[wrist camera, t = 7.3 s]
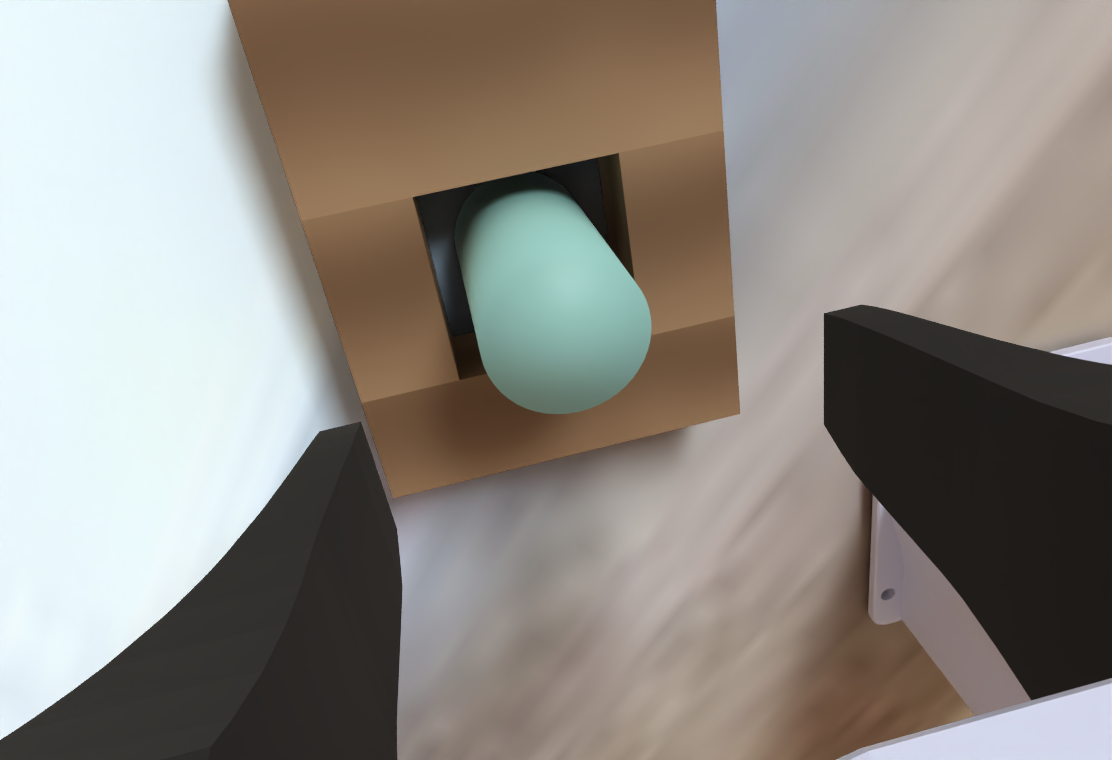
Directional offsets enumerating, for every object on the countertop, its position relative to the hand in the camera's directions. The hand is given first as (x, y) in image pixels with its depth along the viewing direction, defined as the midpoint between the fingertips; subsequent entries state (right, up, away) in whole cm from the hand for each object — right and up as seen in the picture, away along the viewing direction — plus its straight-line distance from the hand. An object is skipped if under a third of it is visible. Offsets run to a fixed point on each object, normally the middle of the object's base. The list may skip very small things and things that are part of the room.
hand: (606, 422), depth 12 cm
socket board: (-2, +5, +7) cm, 9 cm away
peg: (-2, +4, +8) cm, 9 cm away
